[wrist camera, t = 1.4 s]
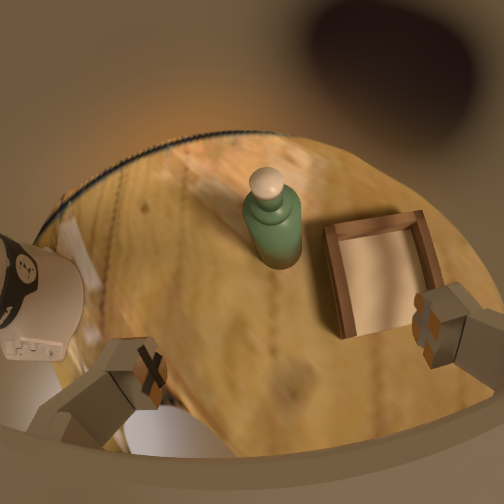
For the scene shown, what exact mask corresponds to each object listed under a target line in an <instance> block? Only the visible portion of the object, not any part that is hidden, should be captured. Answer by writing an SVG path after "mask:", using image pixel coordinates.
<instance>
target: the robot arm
mask: <svg viewBox="0 0 504 504" xmlns="http://www.w3.org/2000/svg"><path fill="white" fill-rule="evenodd" d="M83 303H84V289H83V283H82V279H81V276H80V273H79V271H78V269H77V268H76V267H75V265H74V264H73V263H72V262H71V261H69V260H68V259H65V258H62V257H59V256H58V255H57V254H56V253H55V251H54V250H53V249H52V248H50V247H47V246H46V247H44V248H42V249H41V248H38V247H36V246H33V245H30V244H28V243H25V242H23V241H20V240H18V241H16V242H15V241H13V240H12V239H11V238H9V237H7V236H4V235H1V234H0V345H1V348H2V350H3V353H4V355H5V357H6V358H7V359H9V360H15V361H44V362H45V361H46V362H61V361H62V360H63V359H64V357H65V354H66V350H67V345H68V342H69V340H70V338H71V337H72V335H73V334H74V332H75V330H76V328H77V326H78V324H79V321H80V318H81V315H82V310H83ZM414 306H415V308H416V309H417V311H416V312H415V314H414V315H413V316H412V332H413V336H414V339H415V341H416V343H417V345H418V346H420V347H422V348H424V351H423V356H424V358H425V360H426V362H427V364H428V365H429V367H430V369H434V368H438V367H441V366H444V365H448V364H451V363H454V364H455V365H457V366H458V367H460V368H461V369H463V370H464V371H466V372H467V373H469V374H470V375H472V376H473V377H475V378H476V379H478V380H479V381H481V382H482V383H484V384H485V385H487V386H488V387H490V388H491V389H493V390H494V391H495V392H494V394H493V396H492V397H490V398H488V399H486V400H484V401H482V402H479V403H477V404H475V405H472V406H470V407H468V408H465V409H463V410H460V411H458V412H455V413H453V414H450V415H448V416H445V417H442V418H440V419H437V420H434V421H431V422H428V423H425V424H422V425H419V426H416V427H413V428H410V429H406V430H403V431H400V432H396V433H393V434H389V435H385V436H382V437H378V438H374V439H370V440H365V441H361V442H357V443H352V444H347V445H342V446H337V447H332V448H326V449H320V450H314V451H307V452H300V453H292V454H283V455H273V456H261V457H245V458H212V459H211V458H209V459H208V458H173V457H157V456H146V455H135V454H127V453H119V452H112V451H106V450H104V449H103V448H102V446H103V445H104V444H105V443H106V442H107V441H108V440H109V439H110V438H111V437H112V436H113V435H114V433H115V432H116V431H117V430H118V429H119V428H120V427H121V426H122V425H123V424H124V423H125V422H126V420H127V419H128V418H129V417H130V416H131V415H132V414H133V413H134V412H135V410H158V407H159V404H160V400H161V397H162V392H161V391H160V388H161V387H162V386H164V385H165V384H166V380H167V366H166V362H165V360H164V358H163V356H162V355H160V354H159V353H157V352H156V349H157V344H156V342H155V340H154V339H153V338H152V337H133V338H116V339H111V340H109V341H108V342H107V344H106V346H105V348H104V349H103V351H102V353H101V355H100V356H99V358H98V360H97V362H96V364H95V366H94V367H93V369H92V371H88V372H86V373H85V374H84V375H82V376H81V377H79V378H78V379H77V380H75V381H74V382H73V383H71V384H70V385H69V386H67V387H66V388H64V389H63V390H62V391H60V392H59V393H58V394H56V395H55V396H54V397H52V398H51V399H49V400H48V401H47V402H45V403H44V404H43V405H41V406H40V407H39V409H38V411H37V413H36V414H35V416H34V418H33V420H32V422H31V423H30V425H29V427H28V429H27V431H26V432H23V431H20V430H16V429H13V428H10V427H7V426H5V425H2V424H0V504H504V315H503V314H501V313H498V312H495V311H493V310H490V309H485V310H484V309H483V308H482V307H481V306H480V305H479V303H478V302H477V301H476V300H475V299H474V298H473V297H472V296H471V294H470V293H469V292H468V291H467V290H466V289H465V288H464V287H463V286H462V285H461V284H460V283H458V282H455V283H451V284H448V285H445V286H443V287H439V288H435V289H432V290H428V291H424V292H420V293H416V295H415V297H414ZM52 352H53V355H52Z"/></svg>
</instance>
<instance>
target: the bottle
mask: <svg viewBox="0 0 504 504" xmlns="http://www.w3.org/2000/svg"><path fill="white" fill-rule="evenodd" d="M249 185H250V188H251V192H250V193H249V194H248V195H247V197H246V198H245V200H244V203H243V215H244V219H245V221H246V223H247V226H248V228H249V231H250V233H251V236H252V238H253V241H254V243H255V245H256V248H257V250H258V253H259V255H260V258H261V260H262V261H263V262H264V263H265V264H266V265H267V266H268V267H270V268H273V269H278V270H282V269H287V268H289V267H291V266H293V265H294V264H295V263H296V262H297V261H298V260H299V258H300V256H301V252H302V231H301V203H300V199H299V197H298V195H297V194H296V192H295V191H294V190H293V189H292V188H290V187H289V186H287V185H285V184H284V183H283V177H282V175H281V173H280V172H279V171H278V170H276V169H274V168H270V167H264V168H260V169H258V170H256V171H255V172H254V173H253V174H252V175H251V177H250V180H249Z"/></svg>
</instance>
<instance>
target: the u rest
mask: <svg viewBox="0 0 504 504" xmlns="http://www.w3.org/2000/svg"><path fill="white" fill-rule="evenodd" d="M322 241H323V245H324V250H325V255H326V259H327V264H328V269H329V274H330V279H331V285H332V290H333V295H334V300H335V306H336V312H337V317H338V323H339V329H340V335H341V340H343V339H348V338H353V337H358V336H363V335H368V334H372V333H377V332H381V331H385V330H390V329H394V328H398V327H402V326H406V325H410V324H412V316H413V315H414V314H415V312H416V311H417V309H416V308H415V306H414V297H415V295H416V293H420V292H424V291H428V290H432V289H435V288H439V287H443V286H444V282H443V278H442V274H441V270H440V267H439V263H438V259H437V256H436V252H435V249H434V245H433V242H432V239H431V236H430V232H429V229H428V226H427V223H426V220H425V217H424V214H423V211H422V210H419V211H412V212H406V213H400V214H393V215H387V216H381V217H375V218H368V219H362V220H356V221H350V222H344V223H338V224H332V225H326V226H324V228H323V234H322Z"/></svg>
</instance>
